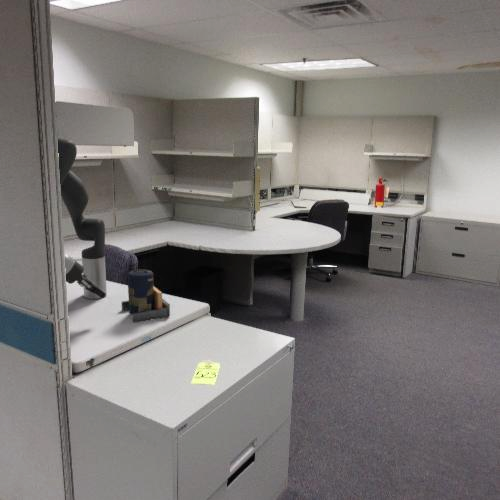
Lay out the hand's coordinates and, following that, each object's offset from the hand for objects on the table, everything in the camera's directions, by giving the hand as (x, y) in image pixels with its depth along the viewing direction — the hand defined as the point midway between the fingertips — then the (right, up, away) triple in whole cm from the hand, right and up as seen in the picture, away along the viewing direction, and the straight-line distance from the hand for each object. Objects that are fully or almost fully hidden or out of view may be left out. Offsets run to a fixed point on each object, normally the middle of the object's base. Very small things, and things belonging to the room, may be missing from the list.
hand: (103, 295), depth 176 cm
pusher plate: (+17, -7, +12) cm, 21 cm away
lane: (+13, -8, +10) cm, 18 cm away
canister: (+12, -8, +9) cm, 17 cm away
